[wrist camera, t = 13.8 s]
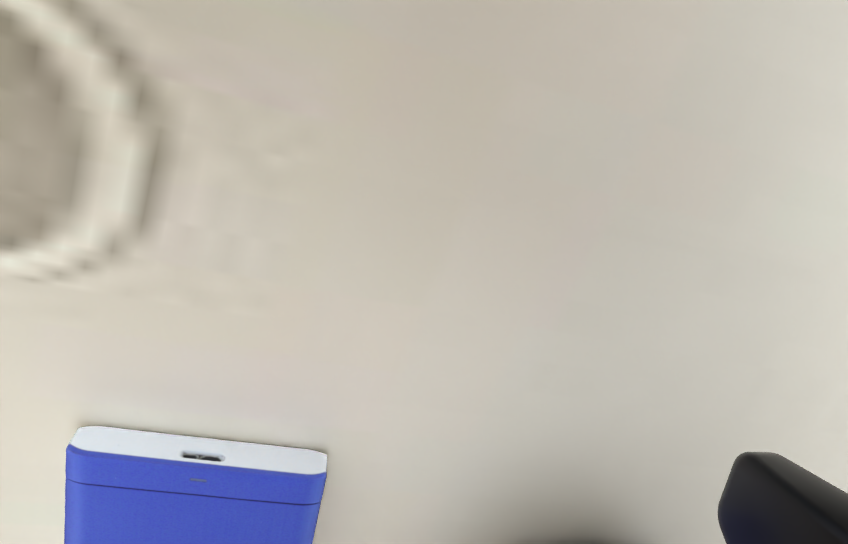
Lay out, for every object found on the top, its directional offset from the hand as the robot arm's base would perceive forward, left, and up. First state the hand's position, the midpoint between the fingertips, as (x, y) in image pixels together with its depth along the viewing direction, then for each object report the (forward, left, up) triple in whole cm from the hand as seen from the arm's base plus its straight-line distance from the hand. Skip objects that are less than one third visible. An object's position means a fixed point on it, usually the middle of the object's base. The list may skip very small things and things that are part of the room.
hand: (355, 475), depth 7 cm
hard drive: (-16, +5, -13) cm, 21 cm away
